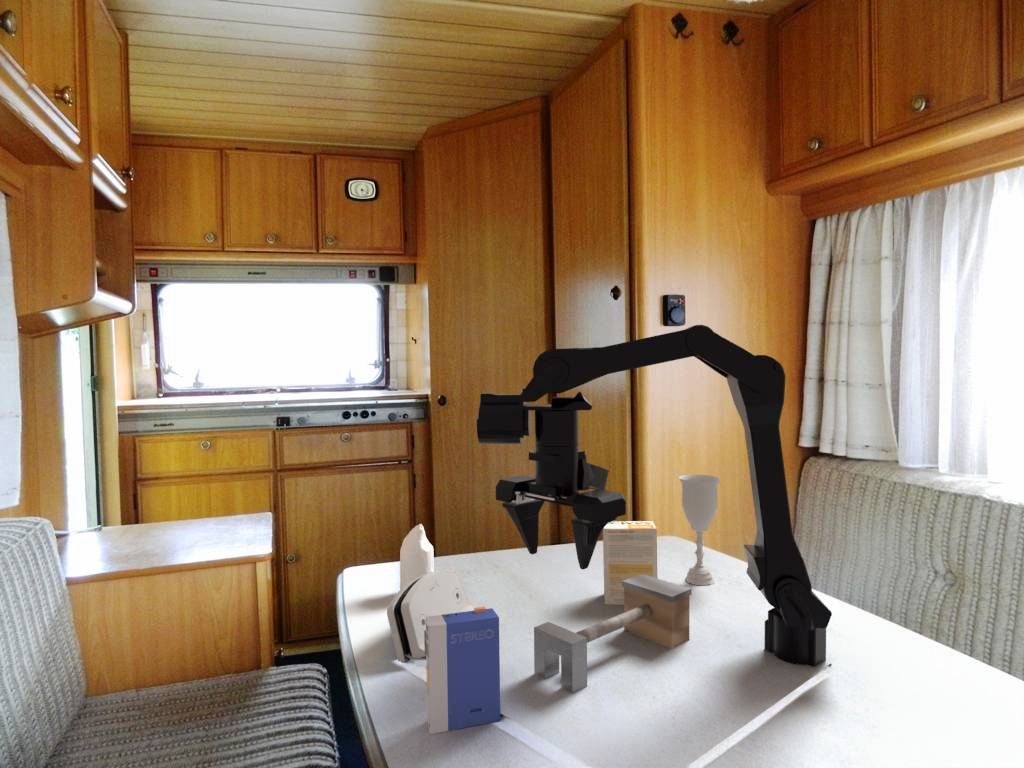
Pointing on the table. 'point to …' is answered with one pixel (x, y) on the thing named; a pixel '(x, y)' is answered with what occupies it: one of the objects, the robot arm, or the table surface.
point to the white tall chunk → (415, 556)
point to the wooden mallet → (649, 612)
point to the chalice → (699, 518)
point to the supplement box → (627, 555)
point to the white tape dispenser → (423, 609)
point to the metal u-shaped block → (568, 646)
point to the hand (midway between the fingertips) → (557, 560)
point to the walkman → (462, 669)
